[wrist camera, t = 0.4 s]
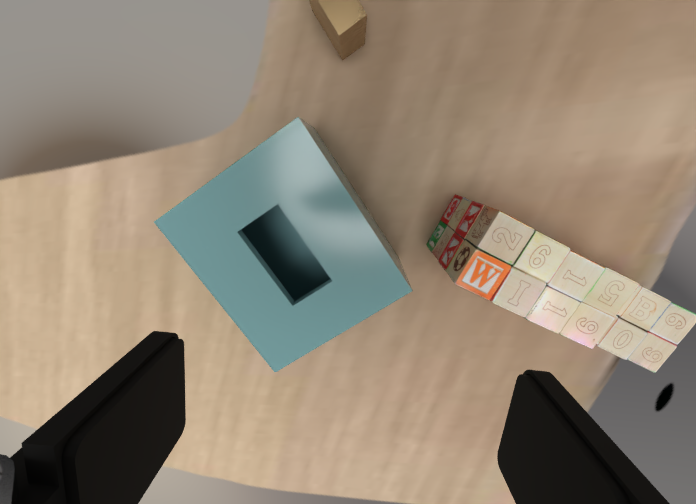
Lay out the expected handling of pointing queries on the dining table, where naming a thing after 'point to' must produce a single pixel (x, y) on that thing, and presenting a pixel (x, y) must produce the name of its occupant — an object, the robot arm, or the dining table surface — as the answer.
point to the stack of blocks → (555, 285)
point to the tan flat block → (342, 23)
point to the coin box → (287, 246)
